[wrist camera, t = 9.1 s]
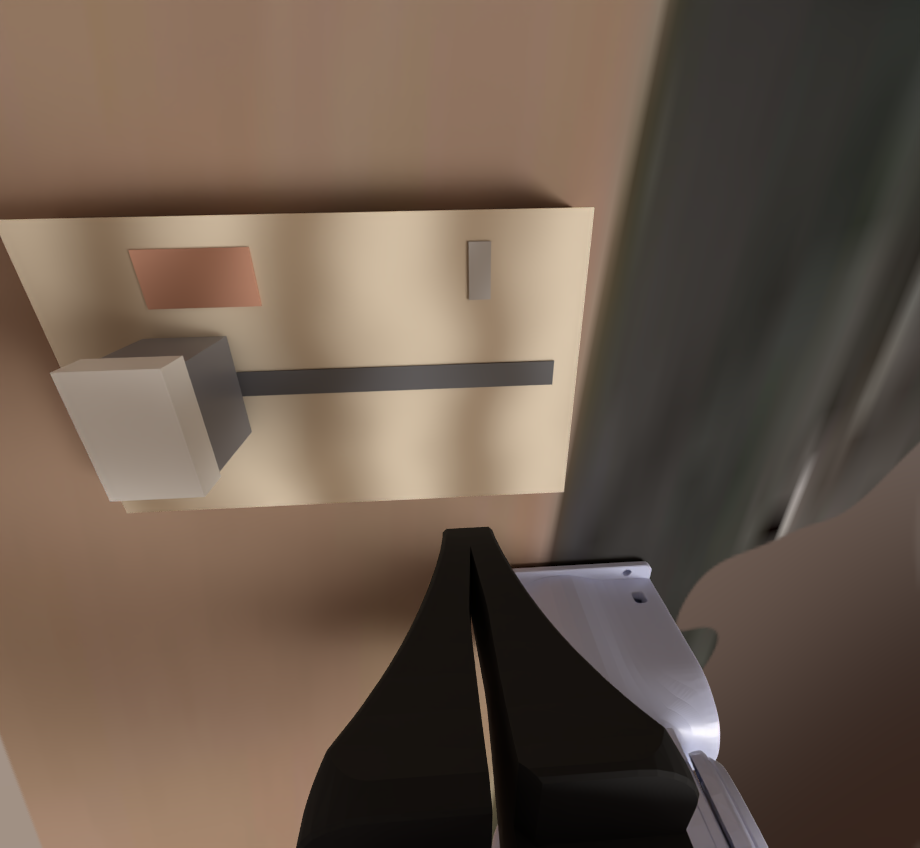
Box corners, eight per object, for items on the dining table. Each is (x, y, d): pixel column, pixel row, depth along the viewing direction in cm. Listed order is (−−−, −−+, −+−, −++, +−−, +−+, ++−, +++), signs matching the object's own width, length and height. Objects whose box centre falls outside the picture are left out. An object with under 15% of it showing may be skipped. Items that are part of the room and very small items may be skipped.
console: (573, 207, 17) (595, 207, 15) (550, 463, 23) (564, 493, 20) (53, 218, 16) (-10, 219, 14) (158, 481, 22) (125, 514, 19)
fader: (224, 330, 16) (160, 368, 12) (253, 436, 18) (204, 496, 14) (140, 333, 16) (49, 372, 12) (178, 439, 18) (110, 501, 14)
